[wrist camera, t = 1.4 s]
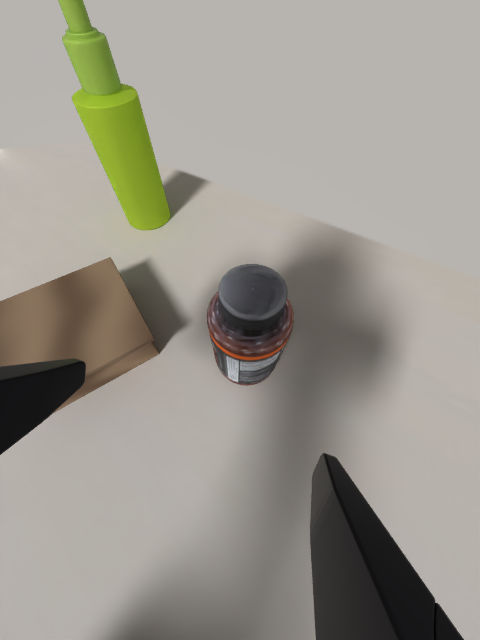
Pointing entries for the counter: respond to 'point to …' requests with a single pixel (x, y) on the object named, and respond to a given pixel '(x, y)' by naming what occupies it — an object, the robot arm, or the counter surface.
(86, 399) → the counter surface
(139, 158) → the soap dispenser
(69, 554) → the counter surface
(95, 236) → the counter surface
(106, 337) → the walnut stand
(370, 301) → the counter surface
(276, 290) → the supplement bottle
